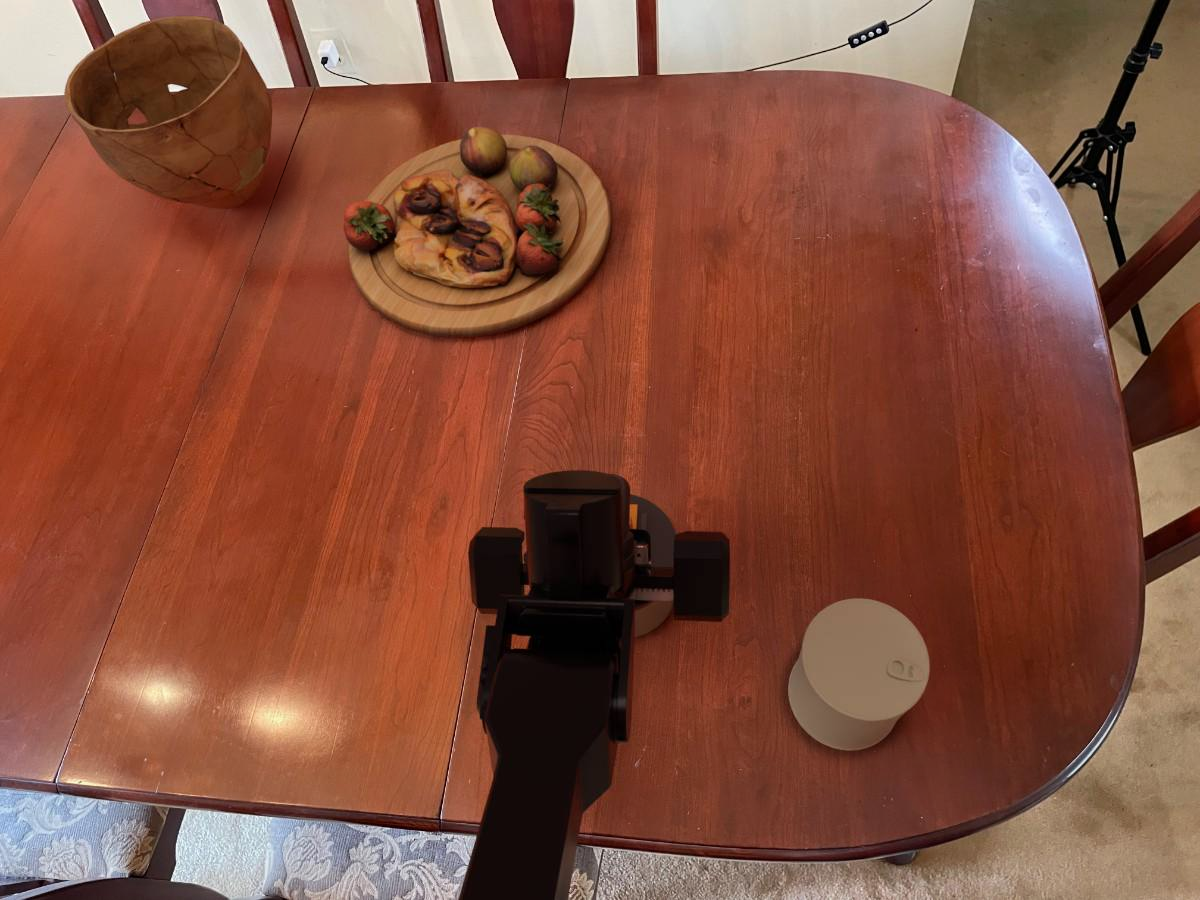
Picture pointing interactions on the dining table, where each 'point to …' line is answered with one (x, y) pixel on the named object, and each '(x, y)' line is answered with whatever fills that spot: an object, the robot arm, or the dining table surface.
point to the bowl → (176, 110)
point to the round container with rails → (654, 561)
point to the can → (857, 673)
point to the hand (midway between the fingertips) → (612, 532)
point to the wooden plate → (478, 235)
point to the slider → (633, 516)
